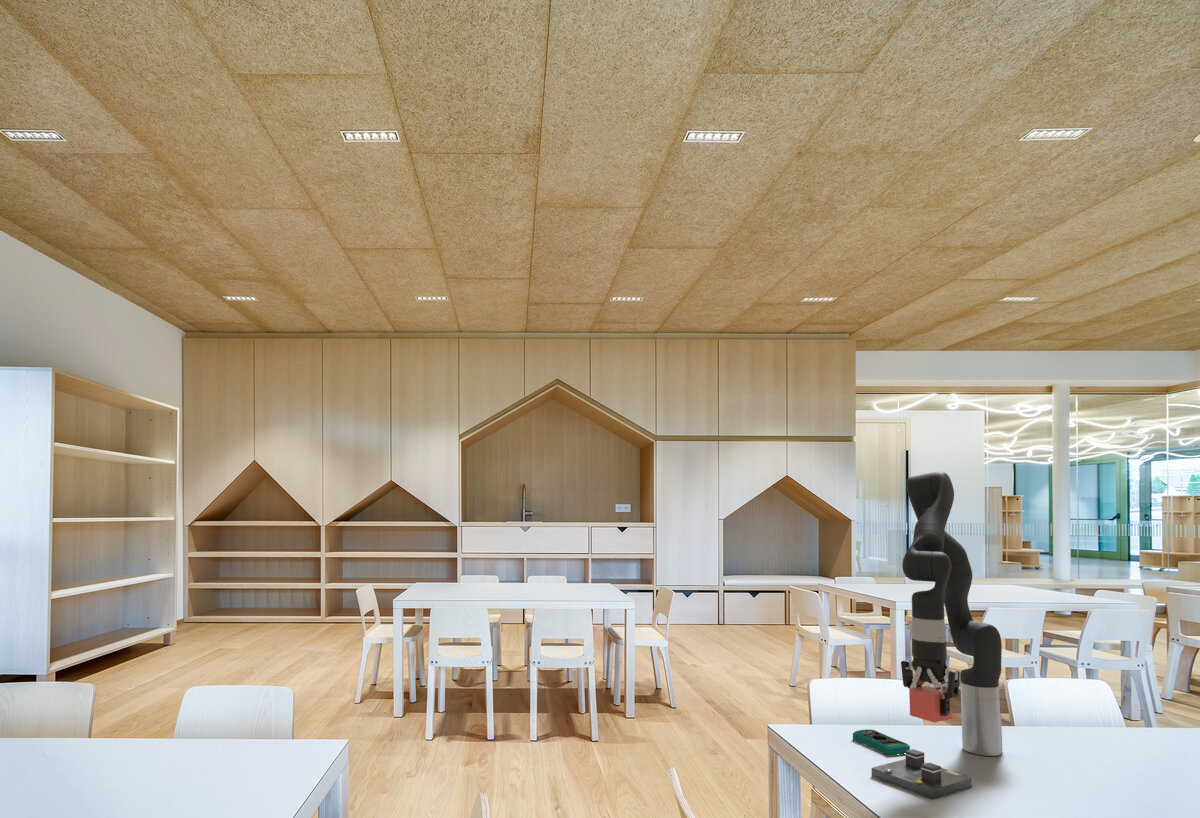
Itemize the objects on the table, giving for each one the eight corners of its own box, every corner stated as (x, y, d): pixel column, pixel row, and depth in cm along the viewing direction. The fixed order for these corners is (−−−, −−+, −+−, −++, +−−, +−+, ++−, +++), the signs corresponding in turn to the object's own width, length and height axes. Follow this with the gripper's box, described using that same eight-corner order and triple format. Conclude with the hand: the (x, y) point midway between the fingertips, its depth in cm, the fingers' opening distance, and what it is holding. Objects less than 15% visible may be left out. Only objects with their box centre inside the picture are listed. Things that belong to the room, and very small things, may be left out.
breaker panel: (911, 765, 191) (910, 754, 191) (972, 786, 178) (971, 775, 178) (871, 776, 183) (871, 765, 183) (932, 799, 170) (931, 787, 170)
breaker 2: (929, 775, 178) (929, 762, 179) (941, 780, 176) (941, 766, 176) (921, 778, 177) (920, 764, 177) (933, 782, 174) (933, 768, 174)
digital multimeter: (872, 738, 214) (872, 727, 215) (911, 755, 200) (911, 743, 201) (850, 741, 212) (850, 729, 212) (888, 758, 198) (888, 746, 198)
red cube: (926, 711, 183) (926, 685, 183) (951, 718, 177) (950, 691, 178) (909, 715, 179) (909, 688, 180) (934, 722, 174) (933, 695, 174)
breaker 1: (913, 761, 188) (913, 749, 188) (924, 765, 185) (924, 752, 186) (905, 764, 186) (905, 751, 187) (916, 767, 184) (916, 754, 184)
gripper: (892, 633, 184) (893, 706, 182) (947, 644, 172) (949, 722, 170) (911, 631, 188) (913, 702, 186) (966, 641, 176) (969, 717, 174)
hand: (930, 711), depth 178 cm, fingers closed on red cube, 6 cm apart
